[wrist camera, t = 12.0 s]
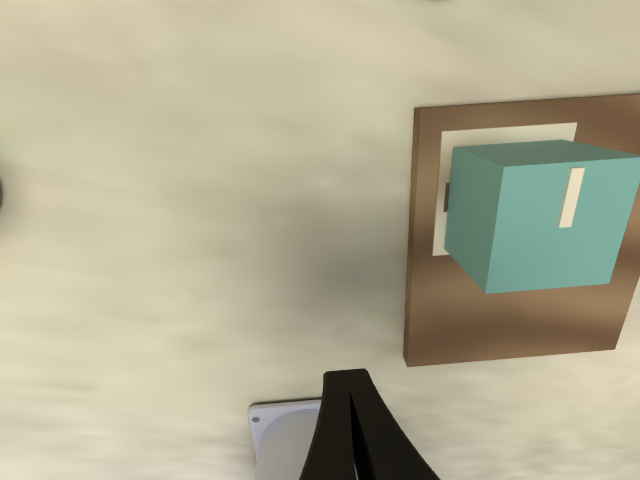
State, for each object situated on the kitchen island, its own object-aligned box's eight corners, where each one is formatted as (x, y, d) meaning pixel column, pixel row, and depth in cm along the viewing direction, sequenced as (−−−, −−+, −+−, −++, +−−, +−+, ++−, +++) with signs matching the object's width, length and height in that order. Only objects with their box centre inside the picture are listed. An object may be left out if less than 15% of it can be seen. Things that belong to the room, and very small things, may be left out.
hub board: (603, 339, 25) (660, 387, 21) (403, 356, 25) (423, 408, 21) (682, 90, 19) (785, 92, 15) (414, 107, 18) (446, 114, 14)
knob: (541, 240, 20) (612, 285, 16) (444, 248, 20) (487, 296, 16) (562, 139, 18) (651, 157, 14) (452, 146, 18) (506, 168, 13)
